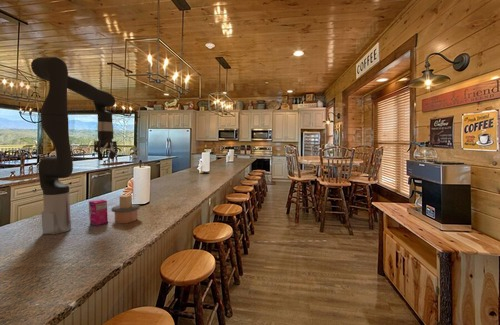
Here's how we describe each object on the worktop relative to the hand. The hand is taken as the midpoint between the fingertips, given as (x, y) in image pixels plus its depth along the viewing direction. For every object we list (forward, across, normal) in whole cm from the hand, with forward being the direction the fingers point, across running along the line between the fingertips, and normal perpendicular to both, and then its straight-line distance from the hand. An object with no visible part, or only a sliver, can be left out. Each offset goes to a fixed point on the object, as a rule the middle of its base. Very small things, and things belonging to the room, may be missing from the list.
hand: (106, 159), depth 137 cm
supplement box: (+30, +18, +10) cm, 37 cm away
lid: (+24, +10, +19) cm, 32 cm away
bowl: (+30, +10, +19) cm, 37 cm away
